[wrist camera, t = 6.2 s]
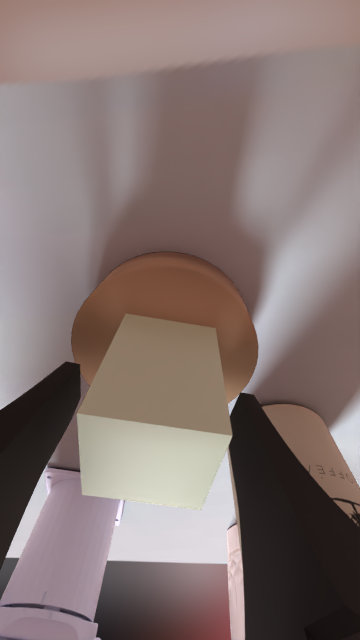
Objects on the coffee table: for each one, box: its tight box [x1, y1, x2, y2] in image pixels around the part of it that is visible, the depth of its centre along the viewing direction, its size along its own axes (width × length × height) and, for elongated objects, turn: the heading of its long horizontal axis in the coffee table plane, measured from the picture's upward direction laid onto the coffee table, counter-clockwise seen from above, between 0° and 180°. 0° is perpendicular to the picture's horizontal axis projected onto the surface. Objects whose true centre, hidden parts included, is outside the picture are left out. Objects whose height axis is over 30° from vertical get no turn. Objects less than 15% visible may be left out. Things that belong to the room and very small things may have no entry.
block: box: [77, 314, 233, 510], centre depth 11 cm, size 4×4×6 cm
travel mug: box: [227, 404, 360, 567], centre depth 13 cm, size 8×8×18 cm
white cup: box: [227, 524, 245, 640], centre depth 25 cm, size 8×8×10 cm
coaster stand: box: [71, 252, 258, 404], centre depth 15 cm, size 10×10×3 cm
